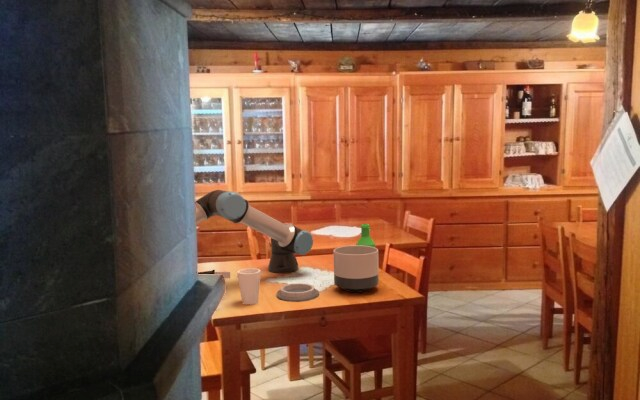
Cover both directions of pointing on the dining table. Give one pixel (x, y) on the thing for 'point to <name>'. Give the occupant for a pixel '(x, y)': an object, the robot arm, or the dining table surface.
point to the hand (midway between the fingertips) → (227, 279)
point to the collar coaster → (297, 292)
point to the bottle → (365, 236)
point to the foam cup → (249, 284)
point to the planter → (356, 267)
